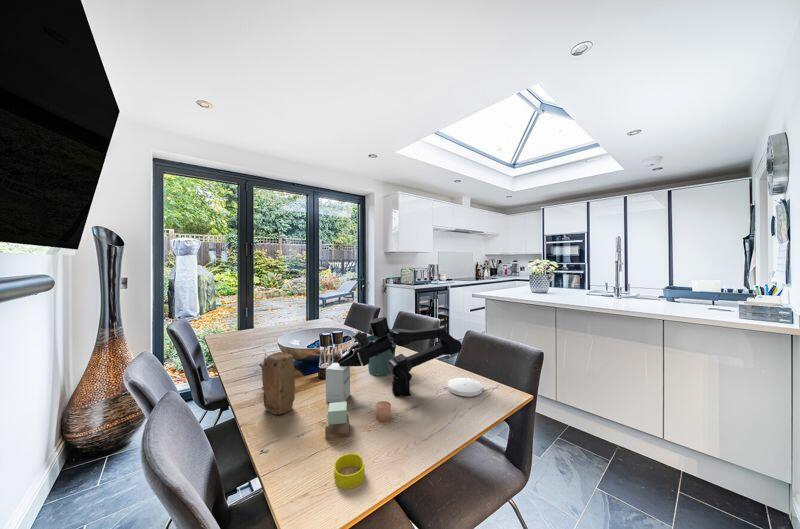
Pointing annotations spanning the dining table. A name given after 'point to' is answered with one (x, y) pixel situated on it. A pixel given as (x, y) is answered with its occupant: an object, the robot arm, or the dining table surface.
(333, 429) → the bottom block
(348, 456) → the bracelet
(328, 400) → the supplement box
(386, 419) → the brown oval piece
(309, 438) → the dining table surface
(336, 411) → the top block
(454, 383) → the plastic lid
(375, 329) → the robot arm
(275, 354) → the block
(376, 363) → the flower pot
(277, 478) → the dining table surface
